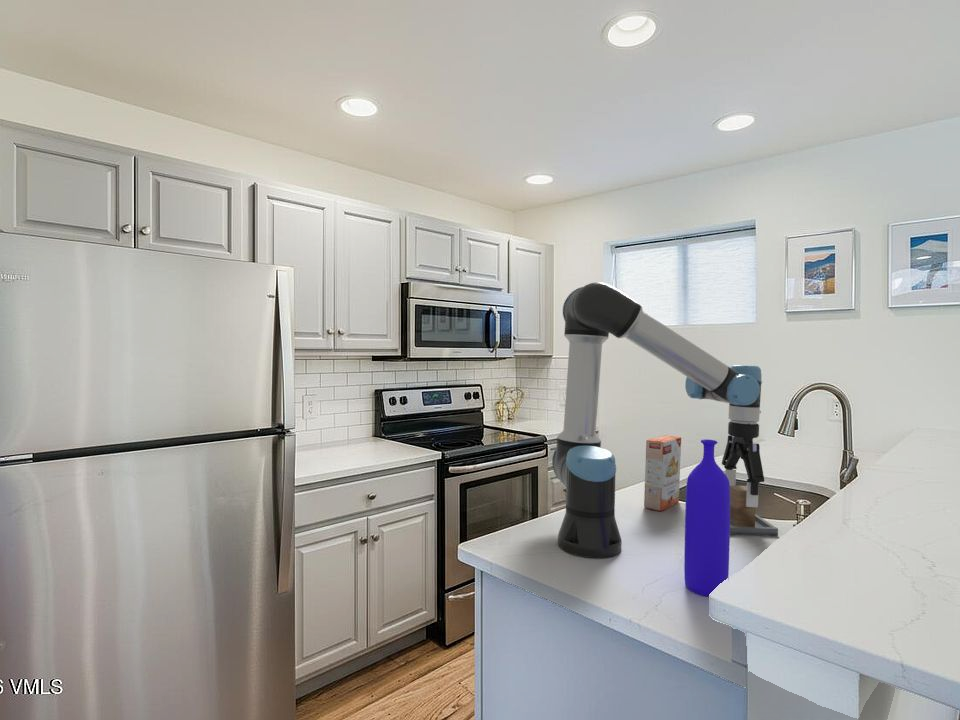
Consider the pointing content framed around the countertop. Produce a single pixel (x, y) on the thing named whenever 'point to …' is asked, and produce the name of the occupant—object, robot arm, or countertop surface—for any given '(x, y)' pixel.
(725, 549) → the bottle
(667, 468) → the cracker box
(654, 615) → the countertop surface
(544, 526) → the countertop surface
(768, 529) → the slate tray
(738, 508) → the walnut block
